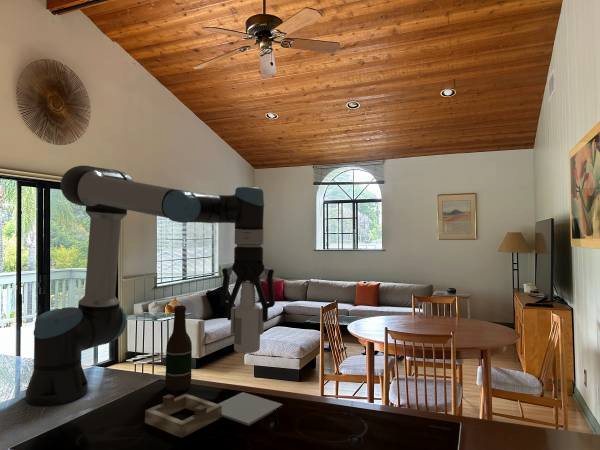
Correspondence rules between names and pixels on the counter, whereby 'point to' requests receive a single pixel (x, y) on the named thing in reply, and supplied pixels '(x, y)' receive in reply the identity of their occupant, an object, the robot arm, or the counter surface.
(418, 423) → the counter surface
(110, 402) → the counter surface
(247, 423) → the mat
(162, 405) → the wooden square frame
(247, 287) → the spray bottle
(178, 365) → the beer bottle
